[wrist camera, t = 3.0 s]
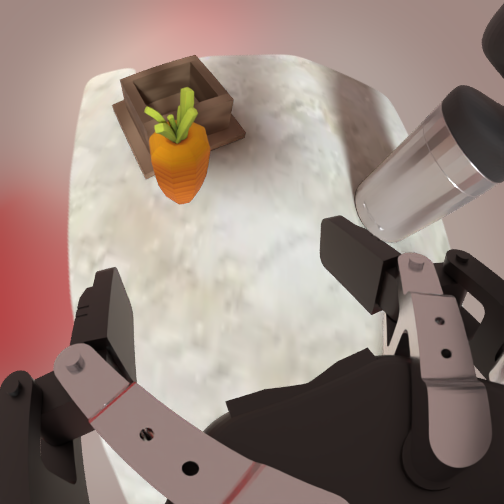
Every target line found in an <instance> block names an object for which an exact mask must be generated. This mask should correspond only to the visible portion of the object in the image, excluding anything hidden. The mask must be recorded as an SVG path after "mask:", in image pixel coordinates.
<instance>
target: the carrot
mask: <svg viewBox="0 0 504 504" xmlns="http://www.w3.org/2000/svg"><path fill="white" fill-rule="evenodd" d="M193 106H194V91H193V90H192V89H190V88H188V87H186V88H182V89H181V93H180V105H179V106H178V111H177V120H175V119H174V116H173V115H172V114H170V115H168V116H167V119H168V122H166V120H165V119H164V118H163V117H162V116H161V114H160V113H159V112H157V111H156V110H154V109H153V108H151V107H148V106H147V107H146V108H145V111H144V112H145V113H146V114H147V115H149V116H151V117H152V118H154V119H155V120H156V121H157V122H158V123H159V124H157V125H155V132H154V133H153V134H152V135H151V136H150V138H149V147H150V154H151V162H152V166H153V169H154V173H155V176H156V179H157V182H158V185H159V186H160V188H161V190H162V191H163V193H164V194H165V195H166V196H167V197H168V198H170V199H171V200H173V201H174V202H176V203H178V204H185V203H189V202H190V201H191V200H192V199H193V198H194V196H195V195H196V194H197V192H198V191H199V190H200V188H201V186H202V184H203V181H204V179H205V177H206V174H207V168H208V163H209V156H210V146H209V142H208V138H207V134H206V131H205V128H204V127H203V126H201V125H198V124H196V123H194V120H195V118H196V117H197V115H198V112H197V110H196V109H195V108H194V107H193Z"/></svg>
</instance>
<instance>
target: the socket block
mask: <svg viewBox="0 0 504 504" xmlns="http://www.w3.org/2000/svg"><path fill="white" fill-rule="evenodd" d="M120 82H121V87H122V91H123V96H124V100H123V101H120V102H118V103H116V104H113V105H112V106H113V110H114V112H115V114H116V117H117V119H118V121H119V123H120V126H121V128H122V130H123V132H124V134H125V137H126V139H127V141H128V143H129V145H130V147H131V149H132V152H133V154H134V156H135V158H136V160H137V162H138V164H139V166H140V168H141V170H142V172H143V174H144V176H145V178H146V179H148V178H150V177H152V176H154V175H155V173H154V169H153V166H152V162H151V154H150V147H149V138H150V136H151V135H152V134H153V133H154V132H155V125H157V124H159V123H158V122H157V121H156V120H155V119H154V118H152V117H151V116H149V115H147V114H146V113H145V112H144V111H145V108H146V107H147V106H148V107H151V108H153V109H154V110H156V111H157V112H159V113H160V114H161V116H162V117H163V118H164V119H165V120H166V122H168V119H167V116H168V115H170V114H172V115H173V116H174V119H175V120H177V111H178V106H179V105H180V93H181V89H182V88H186V87H188V88H190V89H192V90H193V91H194V106H193V107H194V108H195V109H196V110H197V112H198V115H197V117H196V118H195V120H194V123H196V124H198V125H201V126H203V127H204V128H205V131H206V134H207V138H208V142H209V146H210V151H211V150H213V149H216V148H218V147H221V146H224V145H226V144H229V143H231V142H234V141H237V140H239V139H242V138H244V137H245V134H246V132H245V131H244V130H243V128H242V127H241V126H240V124H239V123H238V122H237V120H236V119H235V118H234V117H233V115H232V114H231V111H232V106H233V98H232V97H231V96H230V95H229V94H228V92H227V91H226V90H225V89H224V88H223V86H222V85H221V84H220V83H219V82H218V80H217V79H216V78H215V77H214V76H213V75H212V73H211V72H210V71H209V70H208V69H207V68H206V66H205V65H204V64H203V63H202V62H201V61H200V60H199V59H198V57H197V56H196V55H193V56H189V57H186V58H182V59H179V60H175V61H172V62H169V63H165V64H162V65H159V66H156V67H153V68H150V69H148V70H145V71H142V72H139V73H136V74H133V75H131V76H128V77H126V78H123V79H121V80H120Z"/></svg>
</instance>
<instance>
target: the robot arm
mask: <svg viewBox="0 0 504 504" xmlns="http://www.w3.org/2000/svg"><path fill="white" fill-rule="evenodd" d="M482 48H483V51H484V54H485V55H486V57H487V58H488V60H489V61H490V62H491V64H492V65H493V66H494V67H495V69H496V70H497V71H498V72H499V73H500V75H501V76H502V77H503V78H504V4H503V5H502V6H501V7H500V9H499V10H498V11H497V12H496V14H495V15H494V16H493V18H492V19H491V20H490V22H489V24H488V25H487V27H486V29H485V32H484V34H483V38H482ZM503 181H504V106H502V105H500V104H499V103H496V102H495V101H494V100H492V99H490V98H489V97H487V96H486V95H485V94H483V93H481V92H480V91H478V90H476V89H474V88H472V87H470V86H465V85H461V86H458V87H456V88H455V89H454V90H452V91H451V92H450V94H448V96H447V97H446V98H445V99H444V100H443V101H442V102H441V103H440V104H439V105H438V106H437V107H436V108H435V109H434V110H433V111H432V112H431V113H430V114H429V115H428V116H427V117H426V119H425V120H424V121H423V122H422V123H421V124H420V125H419V126H418V127H417V128H416V129H415V130H414V131H413V132H412V133H411V134H410V135H409V136H408V137H407V138H406V139H405V140H404V141H403V142H402V143H401V144H400V145H399V146H398V147H397V148H396V149H395V150H394V151H393V152H392V153H391V154H390V155H389V156H388V157H387V158H386V159H385V160H384V161H383V162H382V163H381V164H380V165H379V166H378V167H377V168H376V169H375V170H374V171H373V172H372V173H371V174H370V175H369V176H368V177H367V178H366V179H365V180H364V181H363V182H362V183H361V184H360V185H359V187H358V189H357V191H356V196H355V203H356V209H357V212H358V215H359V217H360V219H361V221H362V223H363V224H364V225H365V227H366V228H367V229H368V230H369V231H370V232H369V231H368V230H366V229H365V228H362V227H360V226H357V225H355V224H353V223H352V222H350V221H349V220H347V219H346V218H344V217H343V216H341V215H339V216H334V217H330V218H325V219H323V220H322V223H321V238H320V258H321V262H322V264H323V266H324V267H325V268H326V269H327V270H328V271H329V272H330V273H331V274H332V275H333V276H334V277H335V278H336V279H337V280H338V281H339V282H340V283H341V284H342V285H343V286H344V287H345V288H346V289H347V290H348V291H349V292H350V293H351V294H352V295H353V296H354V297H355V299H356V300H357V301H358V302H359V303H360V304H361V305H362V306H363V307H364V308H365V309H366V310H367V311H368V312H369V313H370V314H371V315H373V314H375V313H377V312H379V311H382V310H384V311H385V313H384V317H383V355H380V356H374V355H373V354H372V352H371V351H370V350H369V349H368V348H366V349H364V350H362V351H359V352H357V353H355V354H353V355H351V356H349V357H346V358H344V359H342V360H340V361H337V362H336V363H335V364H334V365H332V366H331V367H330V368H328V369H327V370H326V371H324V372H323V373H322V374H320V375H319V376H317V377H316V378H315V379H313V380H312V381H310V382H309V383H306V384H301V385H295V386H288V387H280V388H272V389H264V390H261V391H258V392H255V393H252V394H249V395H245V396H242V397H239V398H235V399H232V400H229V401H225V402H226V405H227V408H228V411H229V412H228V413H226V414H224V415H222V416H221V417H219V418H218V419H216V420H215V421H214V422H212V423H211V424H210V425H209V426H208V427H207V428H206V429H205V430H204V431H203V432H202V431H201V430H199V429H198V428H196V427H195V426H193V425H192V424H190V423H189V422H187V421H186V420H185V419H183V418H182V417H180V416H179V415H178V414H176V413H175V412H173V411H172V410H171V409H169V408H168V407H167V406H165V405H164V404H163V403H161V402H160V401H159V400H157V399H156V398H155V397H154V396H152V395H151V394H150V393H149V392H147V391H146V390H145V389H144V388H142V387H141V386H140V385H139V384H137V379H136V366H135V350H134V325H133V311H132V307H131V304H130V301H129V298H128V296H127V293H126V291H125V288H124V285H123V283H122V280H121V277H120V275H119V272H118V270H117V268H116V267H113V268H109V269H105V270H101V271H97V272H96V274H95V279H94V284H93V287H89V288H86V290H85V291H84V293H83V294H82V295H81V297H80V299H79V303H78V307H77V308H78V310H77V312H76V318H75V321H74V326H73V331H72V337H71V342H70V346H69V347H67V348H66V349H64V350H63V351H62V352H61V353H60V354H59V355H58V357H57V358H56V360H55V363H54V371H52V372H50V373H48V374H46V375H44V376H42V377H39V378H37V379H35V380H34V379H33V378H32V377H31V376H30V375H29V374H28V373H27V372H26V371H16V372H13V373H11V374H10V375H9V376H8V377H7V378H6V379H5V380H4V381H3V383H2V385H1V387H0V504H90V503H89V497H88V493H87V486H86V480H85V473H84V465H83V457H82V447H81V436H82V435H85V434H87V433H89V432H91V431H93V430H96V431H97V432H98V433H99V435H100V436H101V437H102V438H103V439H104V440H105V441H106V442H107V443H108V444H109V445H110V446H111V448H112V449H113V450H114V451H115V452H116V453H117V454H118V455H119V456H120V457H121V458H122V459H123V460H124V461H125V462H126V463H127V464H128V465H129V466H131V467H132V468H133V469H134V470H135V471H136V472H137V473H138V474H139V475H140V476H141V477H142V478H144V479H145V480H146V481H147V482H148V483H149V484H150V485H152V486H153V487H154V488H155V489H156V490H158V491H159V492H160V493H161V494H163V495H164V496H165V497H166V498H168V499H167V501H166V503H165V504H504V280H503V279H502V278H500V277H499V276H498V275H497V274H495V273H494V272H492V270H490V269H489V268H488V267H486V266H485V265H484V264H482V263H481V262H480V261H478V260H477V259H476V258H474V257H473V256H472V255H470V254H469V253H467V252H465V251H462V250H456V249H452V250H449V251H448V252H447V253H446V256H445V260H444V262H443V263H432V261H431V260H430V259H428V258H427V257H425V256H423V255H421V254H417V253H404V254H400V253H399V252H398V251H396V250H395V249H393V248H392V247H391V246H389V245H388V244H386V243H385V242H391V243H393V242H398V241H401V240H403V239H405V238H406V237H408V236H410V235H412V234H414V233H416V232H418V231H420V230H422V229H423V228H425V227H427V226H429V225H431V224H432V223H434V222H436V221H438V220H439V219H441V218H443V217H445V216H447V215H448V214H450V213H452V212H453V211H455V210H457V209H459V208H460V207H462V206H464V205H465V204H467V203H469V202H470V201H472V200H474V199H475V198H477V197H479V196H480V195H482V194H483V193H485V192H487V191H488V190H490V189H492V188H493V187H495V186H496V185H498V184H499V183H501V182H503ZM373 235H374V236H373ZM382 240H383V241H382ZM384 241H385V242H384ZM467 291H468V292H469V293H470V294H471V295H472V296H474V297H475V298H476V299H477V300H478V301H479V302H480V303H481V304H482V305H483V307H484V310H485V315H484V318H483V320H482V322H481V324H480V323H479V322H478V321H477V320H476V319H475V318H474V317H473V316H472V315H471V314H470V313H468V312H467V311H466V310H465V309H464V308H463V307H462V303H463V301H464V298H465V296H466V293H467ZM474 366H475V367H476V368H477V369H478V370H479V371H480V373H481V374H482V375H483V376H484V377H485V378H486V380H485V379H481V378H477V377H476V374H475V369H474ZM40 438H41V449H40Z"/></svg>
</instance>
